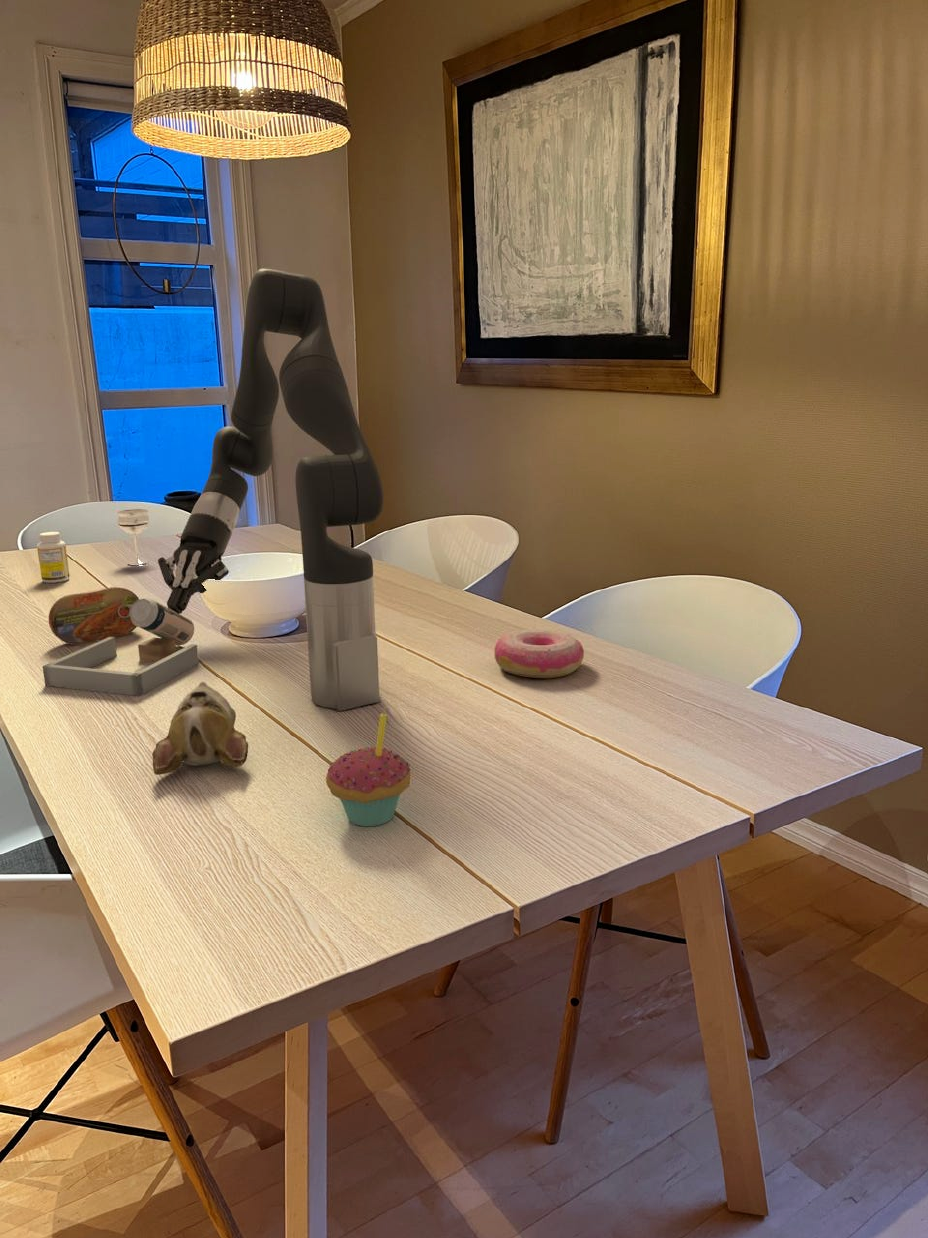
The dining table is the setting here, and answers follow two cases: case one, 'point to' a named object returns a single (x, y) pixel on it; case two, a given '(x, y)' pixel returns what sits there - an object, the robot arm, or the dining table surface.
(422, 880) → the dining table surface
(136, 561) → the wineglass
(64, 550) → the supplement bottle
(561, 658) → the donut
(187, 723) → the ceramic sculpture
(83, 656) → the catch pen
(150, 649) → the tan wooden block
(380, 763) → the cupcake
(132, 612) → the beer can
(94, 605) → the tin
